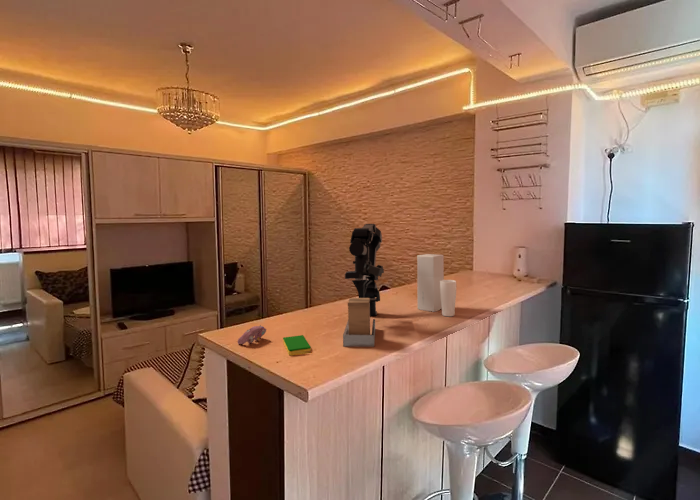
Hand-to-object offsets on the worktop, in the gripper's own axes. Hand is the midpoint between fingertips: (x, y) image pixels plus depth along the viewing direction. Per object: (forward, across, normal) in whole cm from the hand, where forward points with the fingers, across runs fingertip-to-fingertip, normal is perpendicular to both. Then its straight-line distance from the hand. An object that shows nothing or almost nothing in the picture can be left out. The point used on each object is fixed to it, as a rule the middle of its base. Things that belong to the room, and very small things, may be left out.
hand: (362, 298), depth 154 cm
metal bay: (+15, -13, -5) cm, 20 cm away
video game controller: (+16, -31, +28) cm, 45 cm away
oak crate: (+14, -16, -7) cm, 23 cm away
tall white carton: (+5, +39, -16) cm, 43 cm away
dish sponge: (+17, -29, +11) cm, 35 cm away
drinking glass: (+8, +31, -26) cm, 41 cm away
